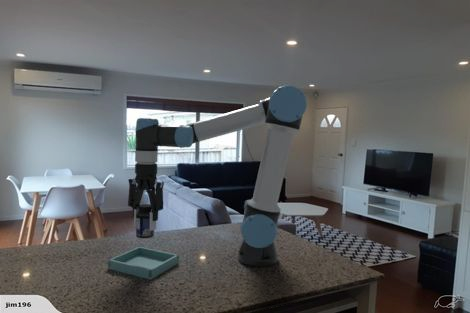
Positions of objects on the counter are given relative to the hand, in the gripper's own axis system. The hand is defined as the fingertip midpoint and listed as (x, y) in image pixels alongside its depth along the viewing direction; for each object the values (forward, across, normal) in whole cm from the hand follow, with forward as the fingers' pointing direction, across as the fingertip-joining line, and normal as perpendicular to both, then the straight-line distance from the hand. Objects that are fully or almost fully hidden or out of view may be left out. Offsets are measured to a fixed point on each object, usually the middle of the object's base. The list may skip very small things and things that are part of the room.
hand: (144, 228), depth 121 cm
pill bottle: (+3, 0, 0) cm, 3 cm away
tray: (+14, 0, 0) cm, 14 cm away
